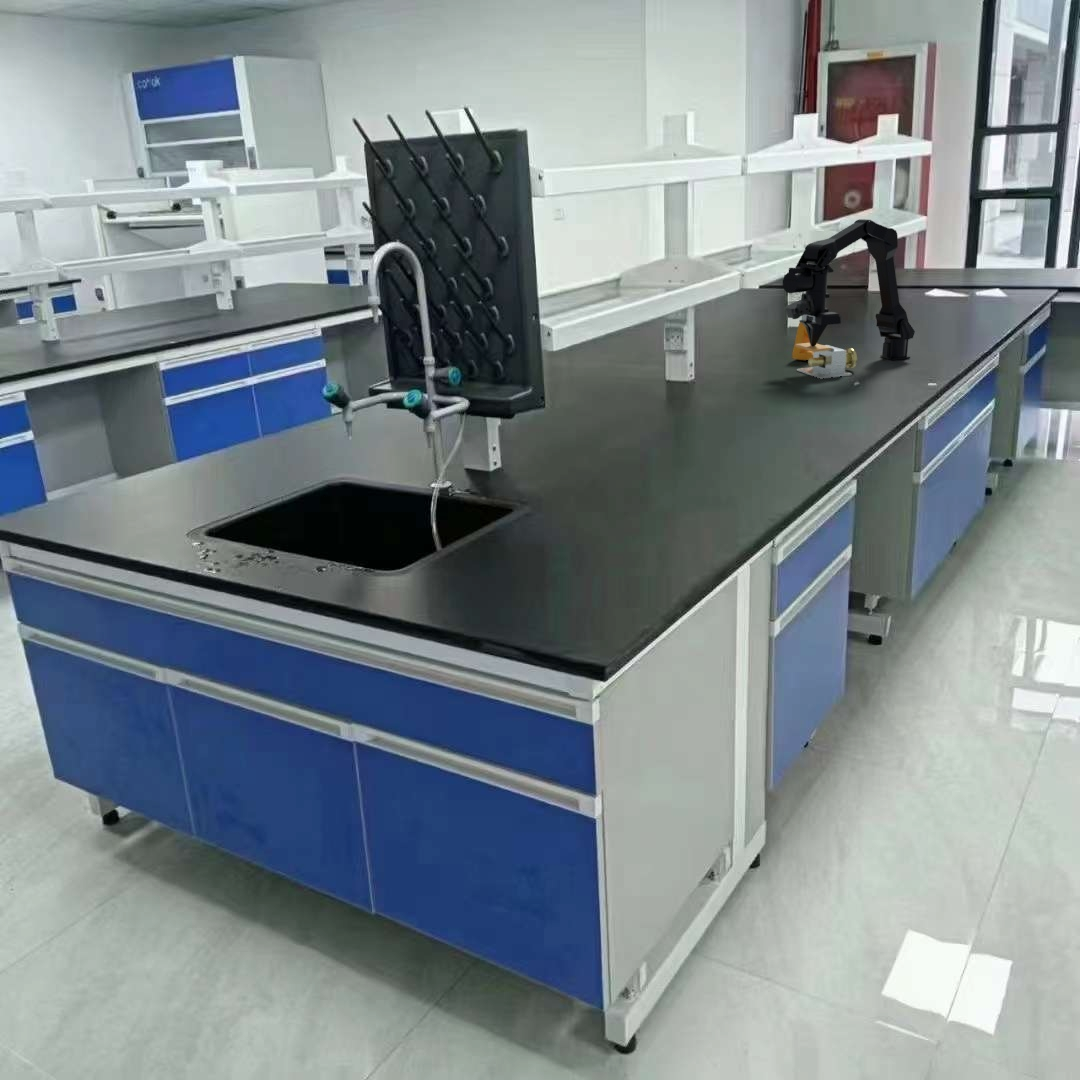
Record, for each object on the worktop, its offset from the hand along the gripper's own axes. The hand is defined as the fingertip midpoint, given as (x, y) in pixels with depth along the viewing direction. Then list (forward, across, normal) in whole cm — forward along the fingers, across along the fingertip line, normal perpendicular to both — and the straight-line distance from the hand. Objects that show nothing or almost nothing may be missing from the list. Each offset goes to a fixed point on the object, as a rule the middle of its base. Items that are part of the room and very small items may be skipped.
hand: (812, 345), depth 296 cm
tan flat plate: (+1, 0, +1) cm, 1 cm away
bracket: (+8, -20, +12) cm, 25 cm away
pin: (+7, 0, +6) cm, 10 cm away
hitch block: (+8, 0, +4) cm, 9 cm away
